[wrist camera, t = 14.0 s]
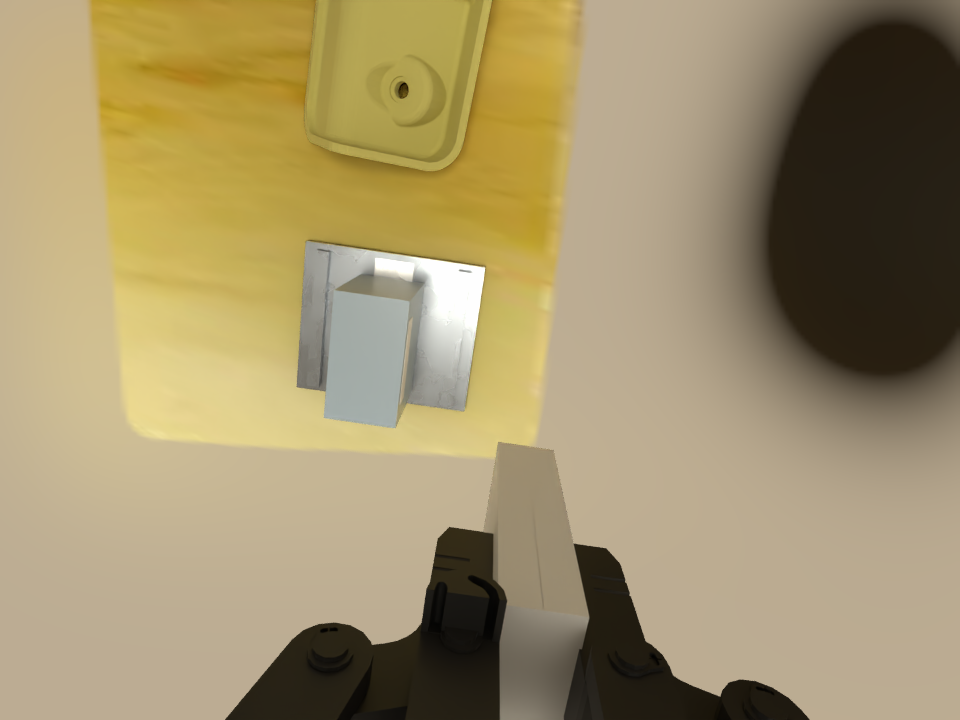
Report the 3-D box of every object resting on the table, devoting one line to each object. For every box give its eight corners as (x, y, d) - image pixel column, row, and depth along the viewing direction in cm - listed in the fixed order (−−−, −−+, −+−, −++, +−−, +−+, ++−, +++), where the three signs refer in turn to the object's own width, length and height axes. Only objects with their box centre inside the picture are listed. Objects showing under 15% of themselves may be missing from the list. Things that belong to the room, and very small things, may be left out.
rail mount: (308, 240, 47) (302, 241, 45) (485, 266, 47) (484, 268, 45) (299, 384, 50) (293, 389, 48) (464, 408, 50) (463, 414, 49)
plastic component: (456, 177, 43) (316, 148, 39) (425, 164, 49) (300, 138, 45) (523, -155, 36) (362, -235, 32) (477, -122, 42) (336, -185, 38)
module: (360, 274, 46) (332, 289, 39) (425, 283, 46) (410, 301, 39) (350, 382, 49) (323, 417, 41) (412, 391, 49) (396, 428, 41)
